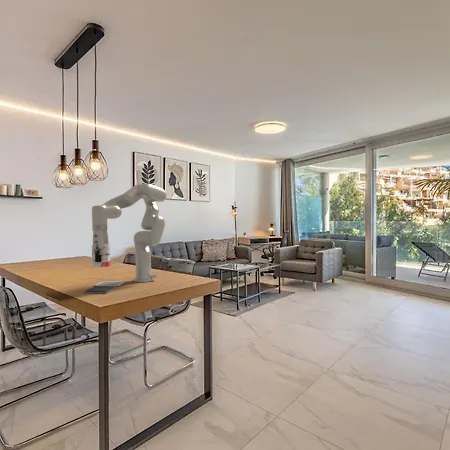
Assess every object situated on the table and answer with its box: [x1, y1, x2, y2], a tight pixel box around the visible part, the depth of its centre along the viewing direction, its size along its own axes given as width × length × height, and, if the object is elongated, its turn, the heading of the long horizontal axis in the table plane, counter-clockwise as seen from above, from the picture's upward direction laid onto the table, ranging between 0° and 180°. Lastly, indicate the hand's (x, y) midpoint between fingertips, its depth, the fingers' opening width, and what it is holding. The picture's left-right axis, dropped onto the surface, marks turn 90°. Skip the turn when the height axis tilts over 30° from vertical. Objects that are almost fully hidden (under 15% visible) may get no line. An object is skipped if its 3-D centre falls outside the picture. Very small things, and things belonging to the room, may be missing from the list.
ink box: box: [91, 244, 112, 268], centre depth 164 cm, size 8×5×12 cm, turn 95°
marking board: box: [93, 280, 127, 287], centre depth 182 cm, size 15×13×1 cm
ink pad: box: [84, 285, 117, 295], centre depth 164 cm, size 12×12×2 cm
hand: (100, 261), depth 164 cm, fingers closed on ink box, 5 cm apart
